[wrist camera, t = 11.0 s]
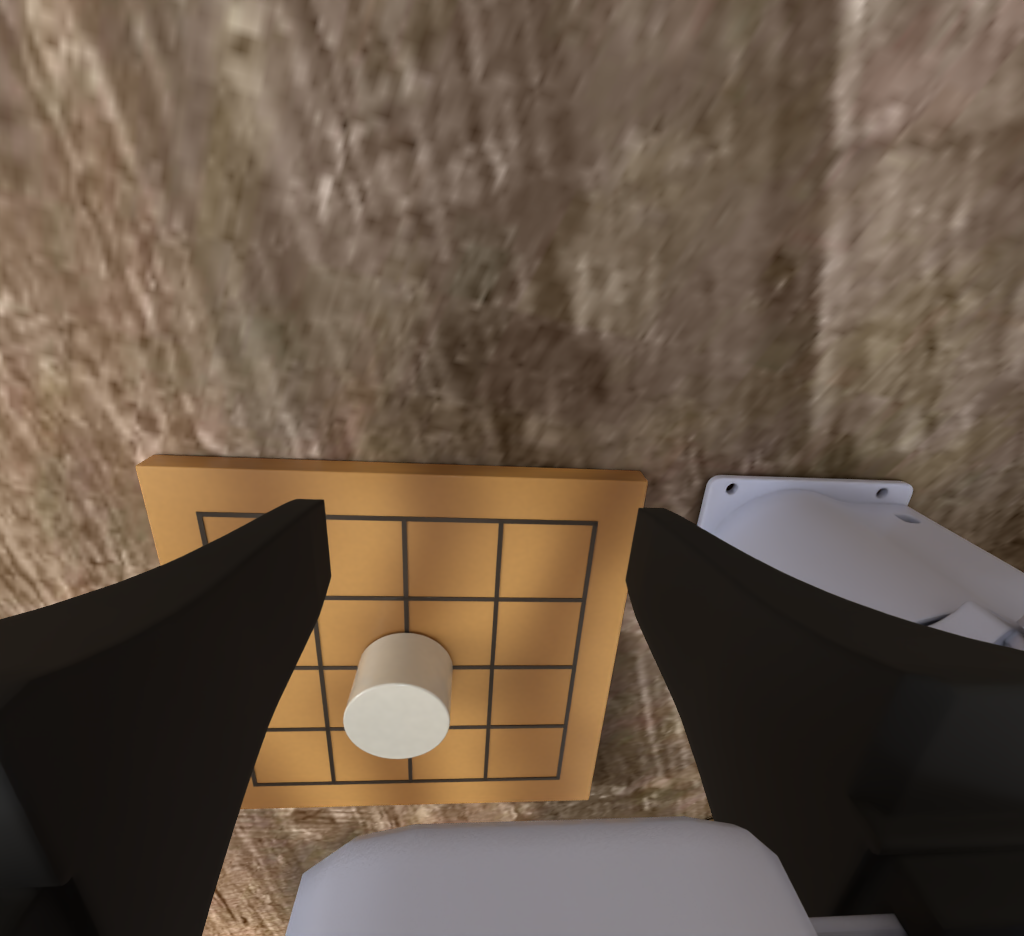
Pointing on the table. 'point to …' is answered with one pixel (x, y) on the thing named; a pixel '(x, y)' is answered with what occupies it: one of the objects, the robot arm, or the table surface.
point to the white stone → (400, 697)
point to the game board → (434, 615)
